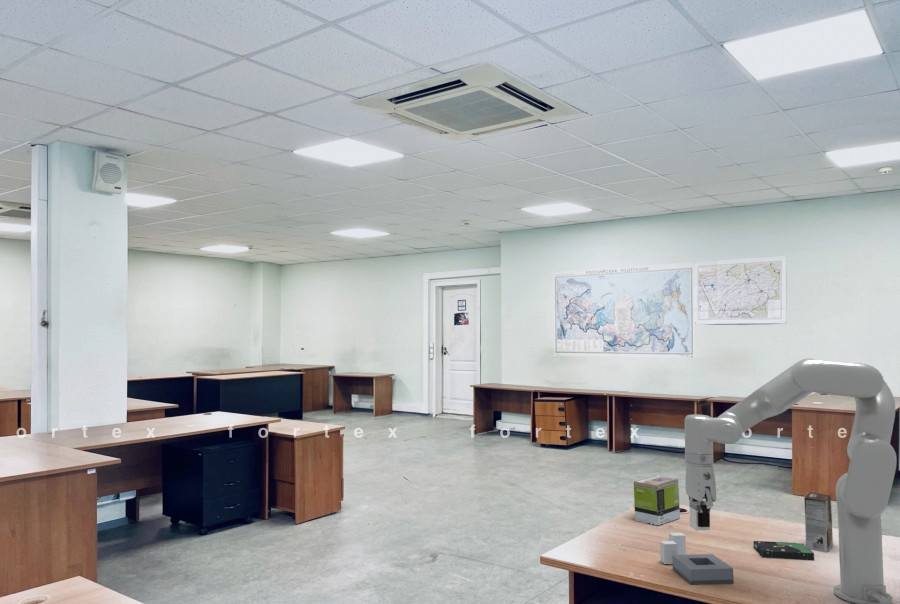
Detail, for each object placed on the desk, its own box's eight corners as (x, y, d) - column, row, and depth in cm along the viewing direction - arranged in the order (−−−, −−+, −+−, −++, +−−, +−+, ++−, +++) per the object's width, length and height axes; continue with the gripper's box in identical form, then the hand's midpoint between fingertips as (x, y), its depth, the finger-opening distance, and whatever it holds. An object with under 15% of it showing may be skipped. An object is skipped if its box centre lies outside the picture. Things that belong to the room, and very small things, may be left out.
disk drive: (762, 560, 198) (815, 562, 195) (762, 550, 198) (814, 552, 196) (753, 549, 208) (803, 551, 206) (752, 540, 208) (802, 542, 206)
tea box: (656, 513, 249) (655, 474, 250) (680, 519, 241) (679, 478, 242) (633, 520, 239) (633, 480, 240) (658, 526, 232) (657, 484, 233)
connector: (710, 530, 182) (709, 504, 182) (696, 530, 182) (695, 505, 182) (703, 526, 186) (703, 501, 186) (689, 526, 186) (689, 501, 186)
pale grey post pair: (697, 564, 193) (696, 543, 193) (664, 565, 192) (664, 544, 192) (681, 552, 204) (681, 532, 204) (650, 552, 203) (650, 533, 203)
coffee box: (811, 541, 214) (809, 491, 215) (833, 545, 210) (831, 494, 211) (805, 548, 207) (803, 497, 208) (828, 552, 203) (826, 500, 204)
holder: (733, 583, 177) (733, 568, 178) (690, 584, 177) (690, 569, 177) (712, 567, 189) (712, 553, 190) (672, 569, 189) (672, 554, 189)
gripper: (726, 464, 177) (727, 533, 176) (698, 453, 194) (699, 516, 193) (699, 464, 176) (700, 533, 175) (674, 453, 193) (674, 516, 192)
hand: (700, 523), depth 184 cm, fingers closed on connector, 4 cm apart
